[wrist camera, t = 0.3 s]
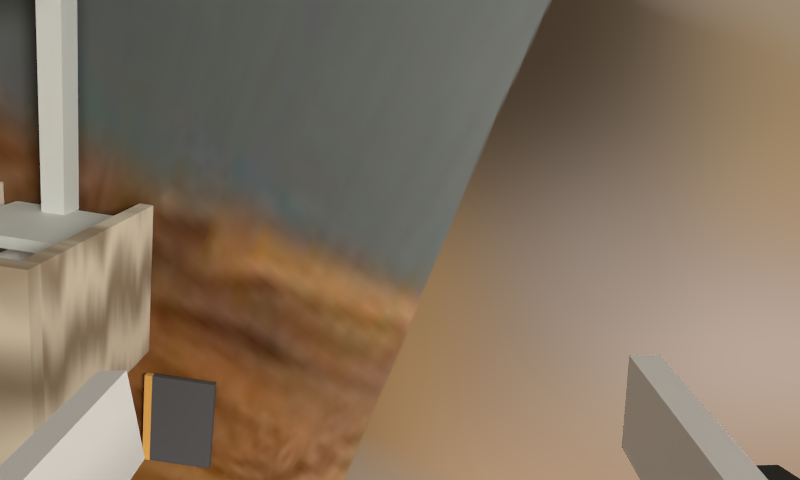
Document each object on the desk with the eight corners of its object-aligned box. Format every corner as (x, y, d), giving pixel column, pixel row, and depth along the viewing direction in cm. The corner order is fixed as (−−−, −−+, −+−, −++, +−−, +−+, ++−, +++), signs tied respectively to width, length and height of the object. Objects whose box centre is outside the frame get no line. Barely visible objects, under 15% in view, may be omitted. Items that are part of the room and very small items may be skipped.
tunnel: (-11, 180, 41) (-219, 233, 28) (153, 205, 42) (27, 270, 28) (-3, 328, 45) (-185, 440, 31) (149, 350, 45) (34, 471, 31)
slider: (1, -75, 36) (-129, -121, 27) (126, -54, 36) (37, -93, 28) (13, 209, 41) (-92, 245, 33) (122, 226, 42) (46, 266, 33)
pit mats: (-71, 340, 45) (-76, 343, 45) (216, 382, 46) (214, 385, 45) (-63, 425, 47) (-67, 429, 47) (210, 465, 48) (208, 468, 48)
